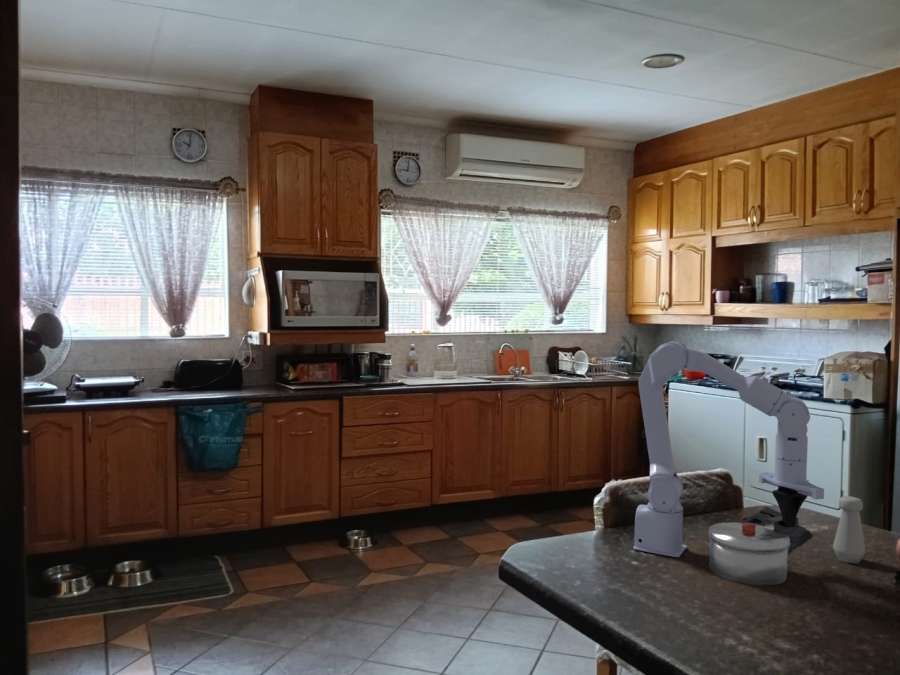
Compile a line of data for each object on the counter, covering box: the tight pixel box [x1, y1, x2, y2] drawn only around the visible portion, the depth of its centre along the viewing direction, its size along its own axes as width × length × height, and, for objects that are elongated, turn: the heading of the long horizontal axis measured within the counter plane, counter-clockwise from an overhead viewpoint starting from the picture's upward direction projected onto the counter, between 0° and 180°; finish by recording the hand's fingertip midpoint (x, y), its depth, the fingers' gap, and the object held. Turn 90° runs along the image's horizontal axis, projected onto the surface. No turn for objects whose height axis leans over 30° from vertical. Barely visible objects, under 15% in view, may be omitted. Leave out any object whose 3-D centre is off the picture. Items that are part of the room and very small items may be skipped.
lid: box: [708, 516, 799, 552], centre depth 141 cm, size 20×15×3 cm
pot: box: [708, 537, 789, 586], centre depth 142 cm, size 20×14×6 cm
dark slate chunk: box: [738, 506, 812, 555], centre depth 163 cm, size 15×22×5 cm
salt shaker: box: [832, 495, 866, 564], centre depth 148 cm, size 6×6×13 cm
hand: (788, 526), depth 142 cm, fingers closed
